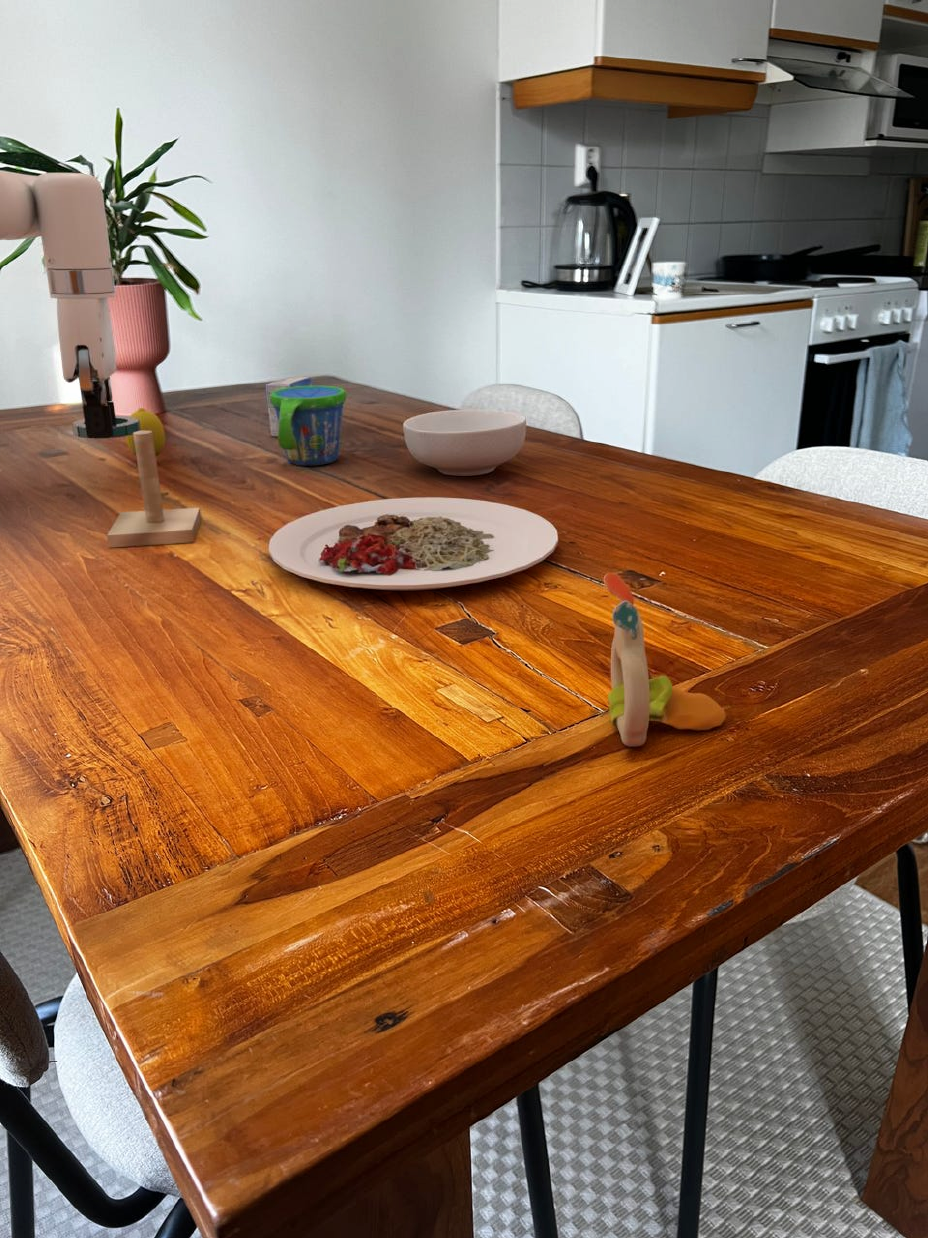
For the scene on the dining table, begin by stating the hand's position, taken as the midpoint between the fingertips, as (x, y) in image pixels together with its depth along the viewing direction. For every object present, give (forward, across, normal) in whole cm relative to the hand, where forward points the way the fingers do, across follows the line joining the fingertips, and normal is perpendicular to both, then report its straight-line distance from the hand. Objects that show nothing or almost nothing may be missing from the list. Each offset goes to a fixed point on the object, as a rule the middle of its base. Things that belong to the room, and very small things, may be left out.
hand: (102, 434), depth 124 cm
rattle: (+7, +76, +49) cm, 90 cm away
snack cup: (+7, -11, +27) cm, 30 cm away
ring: (0, -3, 0) cm, 3 cm away
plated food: (+7, +34, +37) cm, 50 cm away
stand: (+7, +21, +9) cm, 24 cm away
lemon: (+8, -16, +3) cm, 18 cm away
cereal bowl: (+7, -1, +48) cm, 48 cm away
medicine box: (+7, -33, +24) cm, 42 cm away
